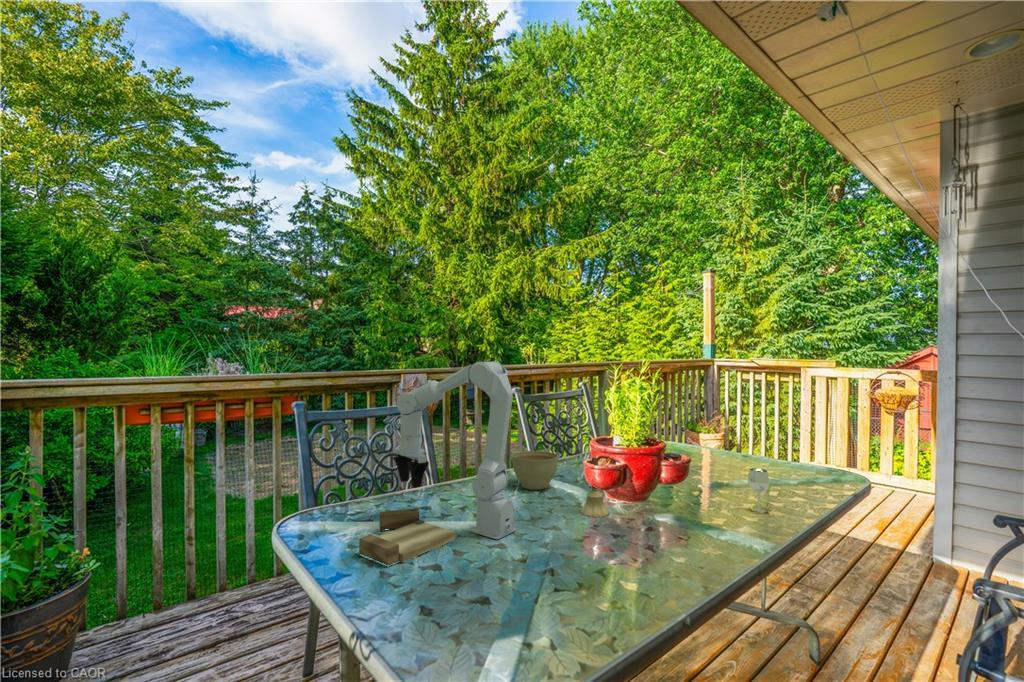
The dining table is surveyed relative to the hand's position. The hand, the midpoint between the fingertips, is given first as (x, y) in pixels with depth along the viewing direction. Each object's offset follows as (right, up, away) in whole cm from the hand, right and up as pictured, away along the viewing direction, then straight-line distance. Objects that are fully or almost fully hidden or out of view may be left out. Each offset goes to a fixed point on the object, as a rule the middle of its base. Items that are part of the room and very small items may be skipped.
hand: (410, 484), depth 139 cm
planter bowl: (+36, -10, +33) cm, 50 cm away
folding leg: (-1, -9, -8) cm, 12 cm away
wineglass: (+102, -11, +8) cm, 102 cm away
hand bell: (+53, -10, +6) cm, 54 cm away
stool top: (+3, -9, -20) cm, 22 cm away
